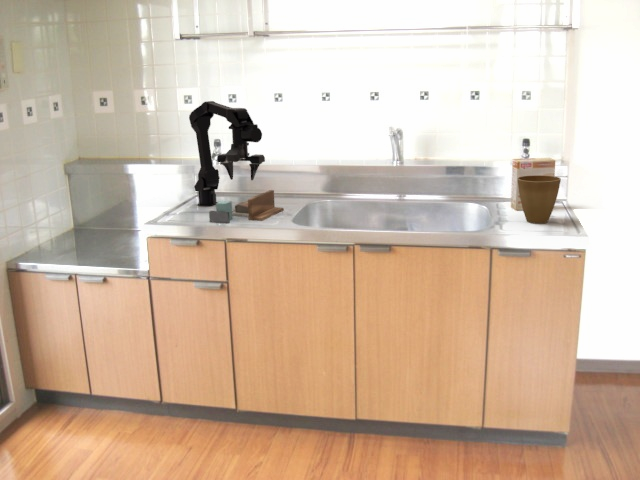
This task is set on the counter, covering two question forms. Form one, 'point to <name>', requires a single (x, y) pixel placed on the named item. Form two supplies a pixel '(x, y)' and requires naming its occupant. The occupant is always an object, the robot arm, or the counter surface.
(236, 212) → the packaged product
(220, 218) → the block
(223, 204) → the pale teal block
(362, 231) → the counter surface
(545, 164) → the coffeecake box
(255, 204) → the walnut bookend
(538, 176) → the plant pot
